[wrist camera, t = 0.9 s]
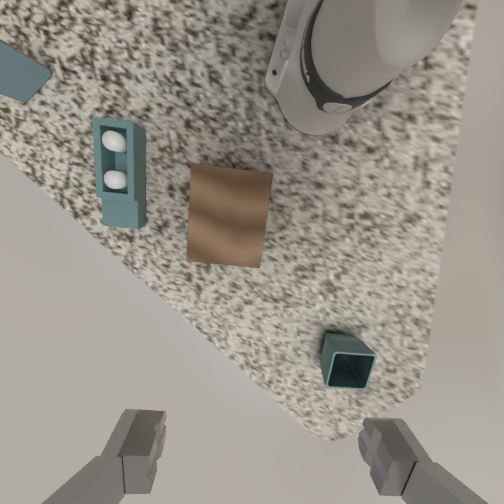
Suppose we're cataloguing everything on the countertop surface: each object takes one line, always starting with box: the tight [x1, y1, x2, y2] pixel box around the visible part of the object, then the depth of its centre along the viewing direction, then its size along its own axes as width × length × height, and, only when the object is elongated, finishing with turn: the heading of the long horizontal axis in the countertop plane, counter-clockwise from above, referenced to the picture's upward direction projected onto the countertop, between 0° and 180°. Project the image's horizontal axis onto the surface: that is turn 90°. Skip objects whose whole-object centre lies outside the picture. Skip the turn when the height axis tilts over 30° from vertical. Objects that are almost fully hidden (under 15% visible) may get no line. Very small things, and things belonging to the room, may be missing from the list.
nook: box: [187, 163, 273, 268], centre depth 41 cm, size 15×12×10 cm
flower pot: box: [320, 333, 377, 390], centre depth 51 cm, size 9×9×9 cm
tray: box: [92, 117, 146, 229], centre depth 40 cm, size 17×6×6 cm, turn 173°
